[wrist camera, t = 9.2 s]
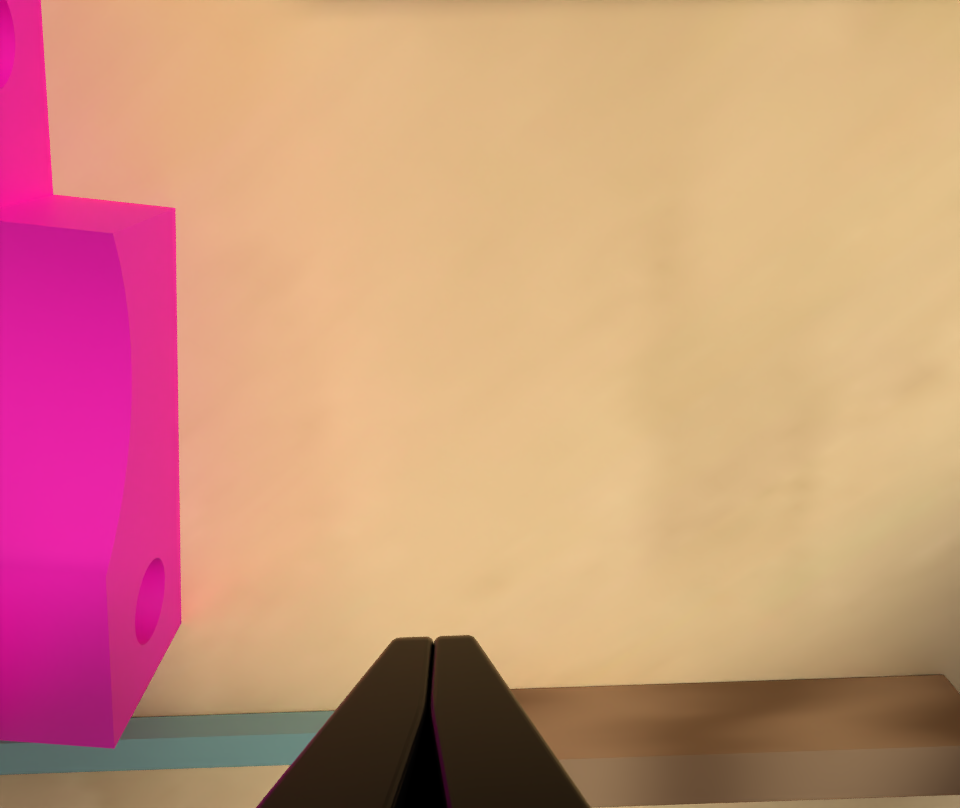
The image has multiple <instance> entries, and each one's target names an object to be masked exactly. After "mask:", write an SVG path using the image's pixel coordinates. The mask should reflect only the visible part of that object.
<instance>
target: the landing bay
mask: <svg viewBox="0 0 960 808" xmlns="http://www.w3.org/2000/svg"><path fill="white" fill-rule="evenodd" d="M334 712H335V711H314V712H284V713H254V714H225V715H195V716H165V717H136V718H130V720H129V722H128V724H127V726H126V728H125V730H124V732H123V734H122V735H121V737H120V739H119V741H118V743H117V745H116V747H115V749H111V748H98V747H84V746H71V745H58V744H44V743H31V742H17V741H4V740H0V775H8V774H38V773H67V772H96V771H125V770H154V769H184V768H213V767H242V766H271V765H291V764H292V763H293V762H294V761H295V759H296V758H297V757H298V756H299V755H300V753H301V752H302V751H303V750H304V748H305V747H306V746H307V745H308V743H309V742H310V741H311V740H312V739H313V737H314V736H315V735H316V734H317V732H318V731H319V730H320V729H321V728H322V726H323V725H324V724H325V723H326V721H327V720H328V719H329V718H330V716H331V715H332V714H333V713H334Z"/></svg>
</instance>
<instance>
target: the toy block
mask: <svg viewBox="0 0 960 808" xmlns="http://www.w3.org/2000/svg"><path fill="white" fill-rule="evenodd" d="M180 624H181V573H180V503H179V433H178V363H177V293H176V223H175V208H170V207H161V206H152V205H143V204H134V203H125V202H116V201H107V200H98V199H89V198H80V197H71V196H61V195H53V186H52V170H51V155H50V139H49V123H48V108H47V92H46V77H45V61H44V45H43V30H42V14H41V0H0V740H4V741H17V742H31V743H44V744H58V745H71V746H84V747H98V748H111V749H115V747H116V745H117V743H118V741H119V739H120V737H121V735H122V734H123V732H124V730H125V728H126V726H127V724H128V722H129V720H130V718H131V717H132V715H133V713H134V711H135V709H136V707H137V705H138V703H139V702H140V700H141V698H142V696H143V694H144V692H145V690H146V688H147V686H148V685H149V683H150V681H151V679H152V677H153V675H154V673H155V671H156V670H157V668H158V666H159V664H160V662H161V660H162V658H163V656H164V654H165V653H166V651H167V649H168V647H169V645H170V643H171V641H172V639H173V638H174V636H175V634H176V632H177V630H178V628H179V626H180Z"/></svg>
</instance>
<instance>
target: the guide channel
mask: <svg viewBox="0 0 960 808" xmlns="http://www.w3.org/2000/svg"><path fill="white" fill-rule="evenodd" d="M510 690H511V692H512V693H513V695H514V696H515V697H516V699H517V700H518V702H519V703H520V705H521V706H522V708H523V709H524V711H525V712H526V713H527V715H528V716H529V718H530V719H531V721H532V722H533V724H534V725H535V727H536V728H537V730H538V731H539V732H540V734H541V735H542V737H543V738H544V740H545V741H546V743H547V744H548V746H549V747H550V748H551V750H552V751H553V753H554V754H555V756H556V757H557V759H558V760H559V762H560V763H561V764H562V766H563V767H564V769H565V770H566V772H567V773H568V775H569V776H570V778H571V779H572V781H573V782H574V783H575V785H576V786H577V788H578V789H579V791H580V792H581V794H582V795H583V797H584V798H585V799H586V801H587V802H588V804H589V805H590V807H618V806H647V805H676V804H705V803H734V802H762V801H791V800H820V799H849V798H878V797H906V796H935V795H960V694H959V693H958V691H957V690H956V689H955V688H954V687H953V685H952V684H951V683H950V682H949V680H948V679H947V678H946V677H945V676H944V675H925V676H895V677H865V678H836V679H806V680H776V681H746V682H717V683H687V684H657V685H627V686H597V687H568V688H538V689H510Z"/></svg>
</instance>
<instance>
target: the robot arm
mask: <svg viewBox="0 0 960 808" xmlns="http://www.w3.org/2000/svg"><path fill="white" fill-rule="evenodd" d="M256 808H591V807H590V805H589V804H588V802H587V801H586V799H585V798H584V797H583V795H582V794H581V792H580V791H579V789H578V788H577V786H576V785H575V783H574V782H573V781H572V779H571V778H570V776H569V775H568V773H567V772H566V770H565V769H564V767H563V766H562V764H561V763H560V762H559V760H558V759H557V757H556V756H555V754H554V753H553V751H552V750H551V748H550V747H549V746H548V744H547V743H546V741H545V740H544V738H543V737H542V735H541V734H540V732H539V731H538V730H537V728H536V727H535V725H534V724H533V722H532V721H531V719H530V718H529V716H528V715H527V713H526V712H525V711H524V709H523V708H522V706H521V705H520V703H519V702H518V700H517V699H516V697H515V696H514V695H513V693H512V692H511V690H510V689H509V687H508V686H507V684H506V683H505V681H504V680H503V679H502V677H501V676H500V674H499V673H498V671H497V670H496V668H495V667H494V665H493V664H492V662H491V661H490V660H489V658H488V657H487V655H486V654H485V652H484V651H483V649H482V648H481V646H480V645H479V644H478V642H477V641H476V639H475V638H474V637H472V636H470V635H460V636H440V637H438V638H436V640H435V641H434V643H433V640H432V639H431V638H429V637H404V638H396V639H394V640H393V641H392V642H391V643H390V644H389V645H388V647H387V648H386V649H385V650H384V651H383V653H382V654H381V655H380V656H379V658H378V659H377V660H376V661H375V663H374V664H373V665H372V666H371V667H370V669H369V670H368V671H367V672H366V674H365V675H364V676H363V677H362V678H361V680H360V681H359V682H358V683H357V685H356V686H355V687H354V688H353V690H352V691H351V692H350V693H349V694H348V696H347V697H346V698H345V699H344V701H343V702H342V703H341V704H340V705H339V707H338V708H337V709H336V710H335V712H334V713H333V714H332V715H331V716H330V718H329V719H328V720H327V721H326V723H325V724H324V725H323V726H322V728H321V729H320V730H319V731H318V732H317V734H316V735H315V736H314V737H313V739H312V740H311V741H310V742H309V743H308V745H307V746H306V747H305V748H304V750H303V751H302V752H301V753H300V755H299V756H298V757H297V758H296V759H295V761H294V762H293V763H292V764H291V766H290V767H289V768H288V769H287V770H286V772H285V773H284V774H283V775H282V777H281V778H280V779H279V780H278V781H277V783H276V784H275V785H274V786H273V788H272V789H271V790H270V791H269V793H268V794H267V795H266V796H265V797H264V799H263V800H262V801H261V802H260V804H259V805H258V806H257V807H256Z"/></svg>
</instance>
